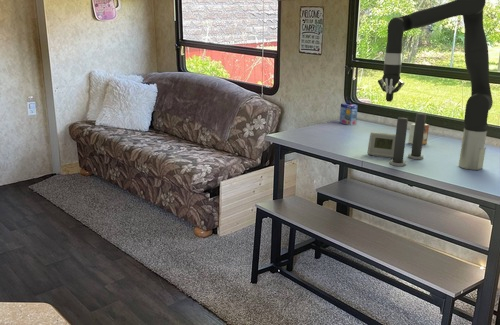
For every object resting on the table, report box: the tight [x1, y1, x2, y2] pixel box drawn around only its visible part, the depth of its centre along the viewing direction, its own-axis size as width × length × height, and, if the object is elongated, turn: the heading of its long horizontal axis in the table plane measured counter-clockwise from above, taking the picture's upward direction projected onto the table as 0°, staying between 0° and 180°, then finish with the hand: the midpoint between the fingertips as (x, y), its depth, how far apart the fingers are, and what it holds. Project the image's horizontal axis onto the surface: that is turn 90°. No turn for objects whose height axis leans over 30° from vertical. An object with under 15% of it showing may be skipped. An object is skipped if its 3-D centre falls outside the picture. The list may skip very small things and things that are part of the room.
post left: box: [389, 117, 409, 167], centre depth 221 cm, size 7×7×21 cm
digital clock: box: [367, 131, 396, 159], centre depth 236 cm, size 16×9×11 cm, turn 54°
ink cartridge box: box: [339, 100, 359, 126], centre depth 307 cm, size 10×6×14 cm, turn 35°
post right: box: [407, 112, 427, 160], centre depth 233 cm, size 7×7×21 cm
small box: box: [407, 123, 430, 145], centre depth 261 cm, size 8×6×10 cm
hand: (389, 101), depth 229 cm, fingers closed
